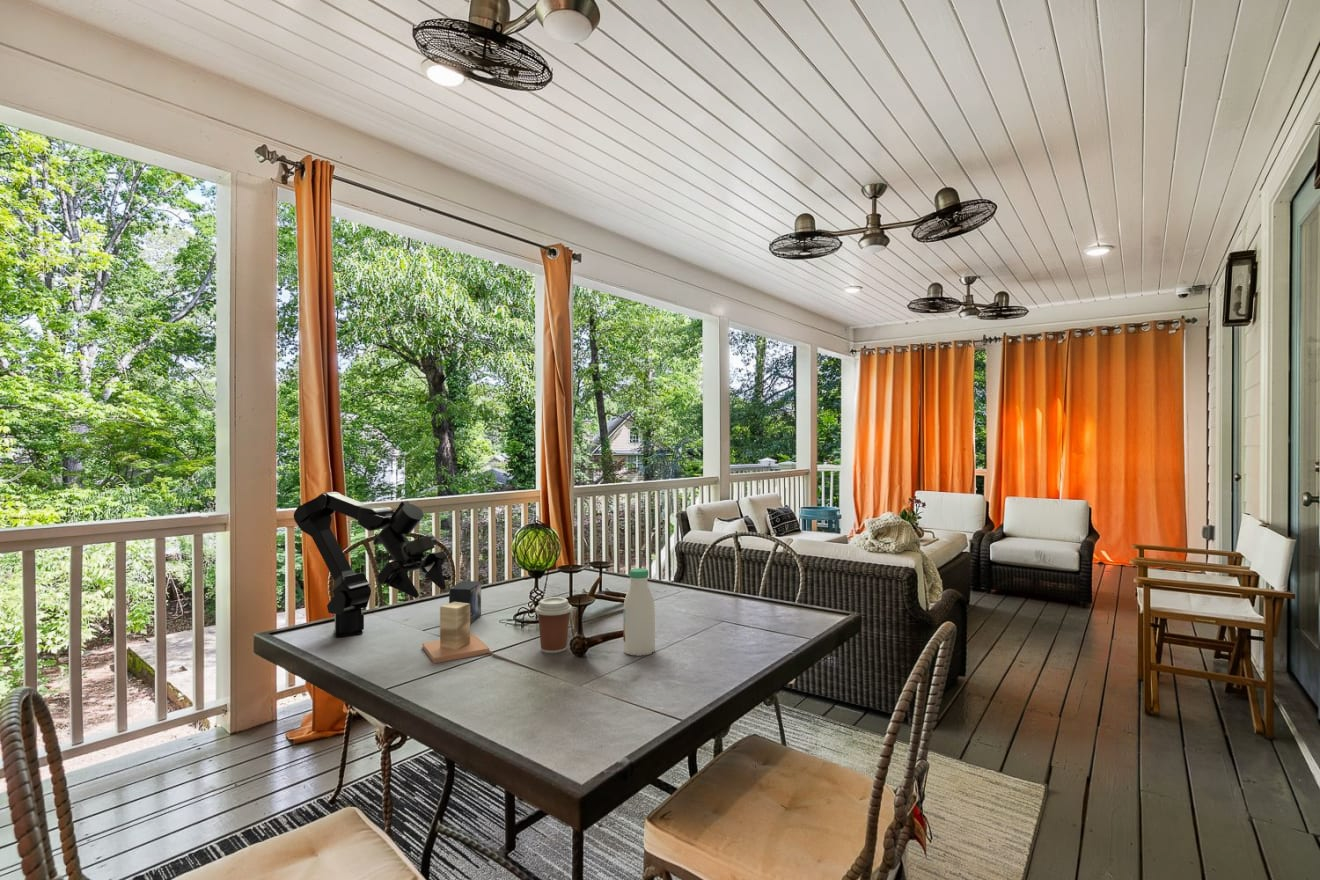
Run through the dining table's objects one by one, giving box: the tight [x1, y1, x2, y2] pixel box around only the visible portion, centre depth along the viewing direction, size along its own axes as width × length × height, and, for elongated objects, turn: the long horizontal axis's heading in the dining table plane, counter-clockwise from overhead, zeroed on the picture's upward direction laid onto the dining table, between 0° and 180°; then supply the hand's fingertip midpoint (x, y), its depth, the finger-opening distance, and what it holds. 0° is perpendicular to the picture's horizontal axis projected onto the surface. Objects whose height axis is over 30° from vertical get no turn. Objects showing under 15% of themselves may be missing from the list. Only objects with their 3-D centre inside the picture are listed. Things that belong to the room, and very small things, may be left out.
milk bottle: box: [622, 567, 656, 657], centre depth 151 cm, size 8×8×20 cm
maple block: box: [439, 602, 471, 650], centre depth 152 cm, size 5×5×10 cm
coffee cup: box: [534, 596, 573, 654], centre depth 153 cm, size 9×9×12 cm
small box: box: [448, 580, 482, 625], centre depth 178 cm, size 11×6×10 cm, turn 179°
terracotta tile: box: [421, 634, 490, 664], centre depth 152 cm, size 13×13×1 cm
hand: (431, 592), depth 155 cm, fingers open, 9 cm apart
